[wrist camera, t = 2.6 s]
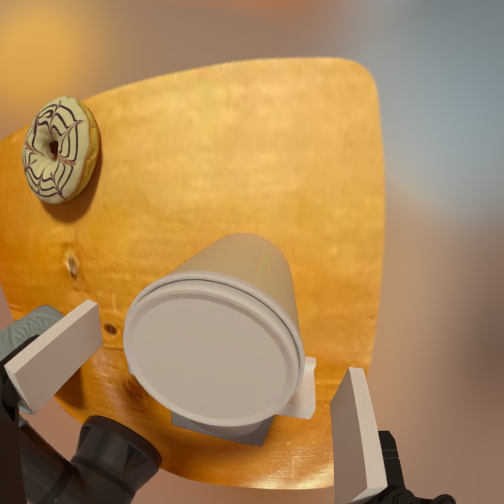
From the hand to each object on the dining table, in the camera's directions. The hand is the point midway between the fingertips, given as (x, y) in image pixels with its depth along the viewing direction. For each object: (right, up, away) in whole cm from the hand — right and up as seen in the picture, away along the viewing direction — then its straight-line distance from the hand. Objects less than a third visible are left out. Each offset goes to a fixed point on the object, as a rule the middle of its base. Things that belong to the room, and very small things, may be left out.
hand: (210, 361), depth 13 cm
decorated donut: (-17, +16, +10) cm, 25 cm away
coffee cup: (+1, +3, +11) cm, 12 cm away
